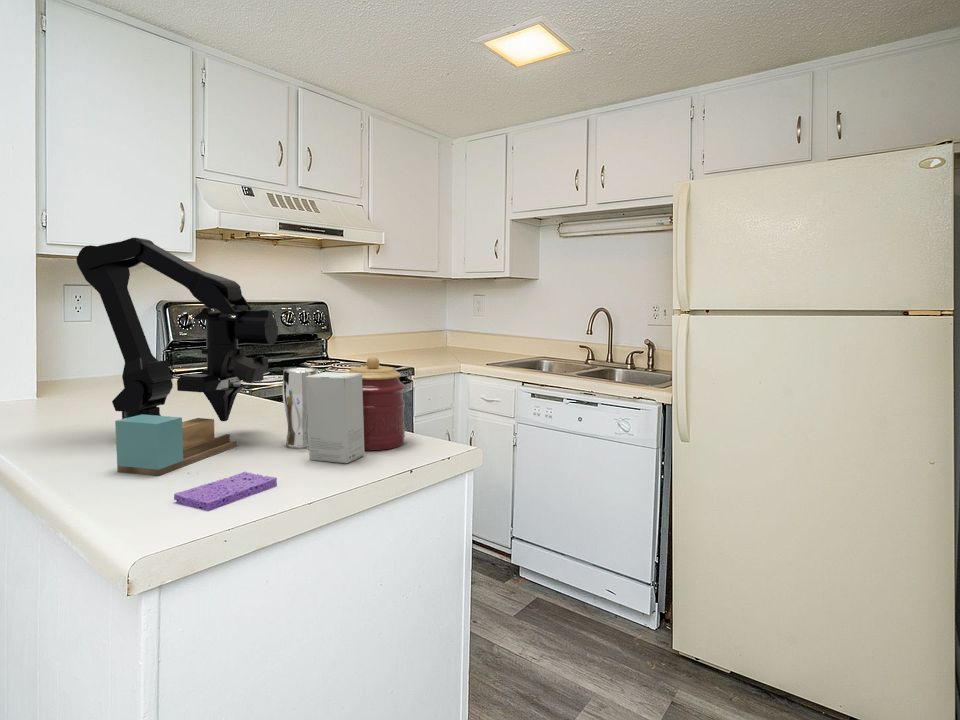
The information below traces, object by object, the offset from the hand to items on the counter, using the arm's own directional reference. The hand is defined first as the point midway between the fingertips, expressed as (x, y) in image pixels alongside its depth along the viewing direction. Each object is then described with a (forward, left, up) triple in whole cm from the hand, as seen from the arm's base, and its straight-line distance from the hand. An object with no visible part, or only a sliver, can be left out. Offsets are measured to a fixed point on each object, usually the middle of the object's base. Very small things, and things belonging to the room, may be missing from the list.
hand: (224, 421), depth 115 cm
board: (+1, -12, -4) cm, 13 cm away
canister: (+29, +8, -4) cm, 30 cm away
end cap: (+1, -20, -3) cm, 20 cm away
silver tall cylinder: (+16, +3, -4) cm, 16 cm away
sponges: (+20, -27, -5) cm, 34 cm away
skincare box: (+27, -4, -4) cm, 27 cm away
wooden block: (+1, -13, -3) cm, 14 cm away
